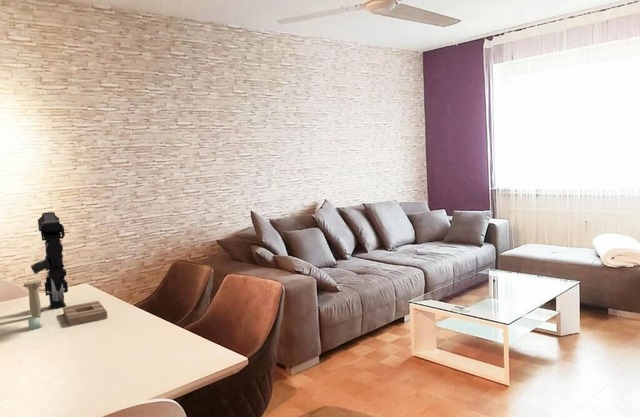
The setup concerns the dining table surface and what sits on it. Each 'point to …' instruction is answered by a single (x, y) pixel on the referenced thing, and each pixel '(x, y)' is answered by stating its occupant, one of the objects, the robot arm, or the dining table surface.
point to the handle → (34, 297)
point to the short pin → (34, 323)
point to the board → (84, 313)
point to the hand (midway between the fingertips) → (57, 290)
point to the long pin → (57, 292)
